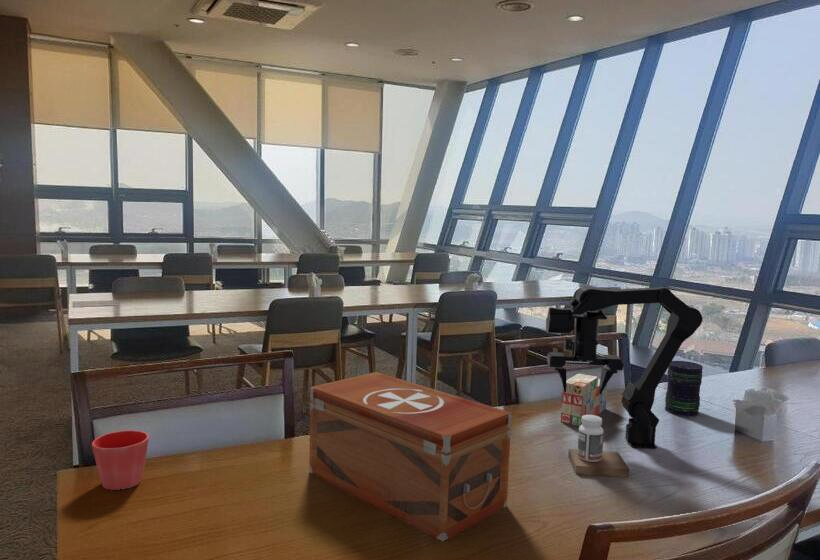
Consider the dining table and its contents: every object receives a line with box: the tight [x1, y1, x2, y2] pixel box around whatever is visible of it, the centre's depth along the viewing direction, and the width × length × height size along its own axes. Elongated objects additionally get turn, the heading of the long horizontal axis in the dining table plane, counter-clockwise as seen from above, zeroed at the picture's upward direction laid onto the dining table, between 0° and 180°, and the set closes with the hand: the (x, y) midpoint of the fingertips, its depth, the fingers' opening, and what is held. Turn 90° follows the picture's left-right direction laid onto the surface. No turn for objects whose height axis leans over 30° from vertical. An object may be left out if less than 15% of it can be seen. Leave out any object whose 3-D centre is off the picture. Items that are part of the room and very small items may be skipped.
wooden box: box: [308, 371, 512, 542], centre depth 132 cm, size 20×41×20 cm, turn 46°
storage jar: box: [664, 360, 703, 418], centre depth 191 cm, size 10×10×15 cm
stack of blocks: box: [560, 373, 608, 428], centre depth 185 cm, size 21×6×12 cm, turn 144°
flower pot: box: [91, 430, 150, 491], centre depth 131 cm, size 11×11×10 cm
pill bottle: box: [577, 415, 604, 462], centre depth 147 cm, size 6×6×10 cm
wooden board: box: [567, 448, 630, 478], centre depth 148 cm, size 12×10×2 cm
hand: (582, 392), depth 163 cm, fingers open, 9 cm apart
